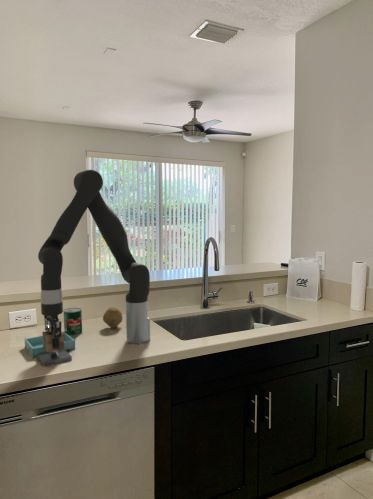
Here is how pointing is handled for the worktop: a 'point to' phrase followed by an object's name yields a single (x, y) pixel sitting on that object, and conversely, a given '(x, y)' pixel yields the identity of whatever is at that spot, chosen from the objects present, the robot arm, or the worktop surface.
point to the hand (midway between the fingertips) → (53, 345)
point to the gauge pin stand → (54, 357)
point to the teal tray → (36, 344)
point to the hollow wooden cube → (48, 341)
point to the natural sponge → (112, 317)
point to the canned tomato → (73, 321)
